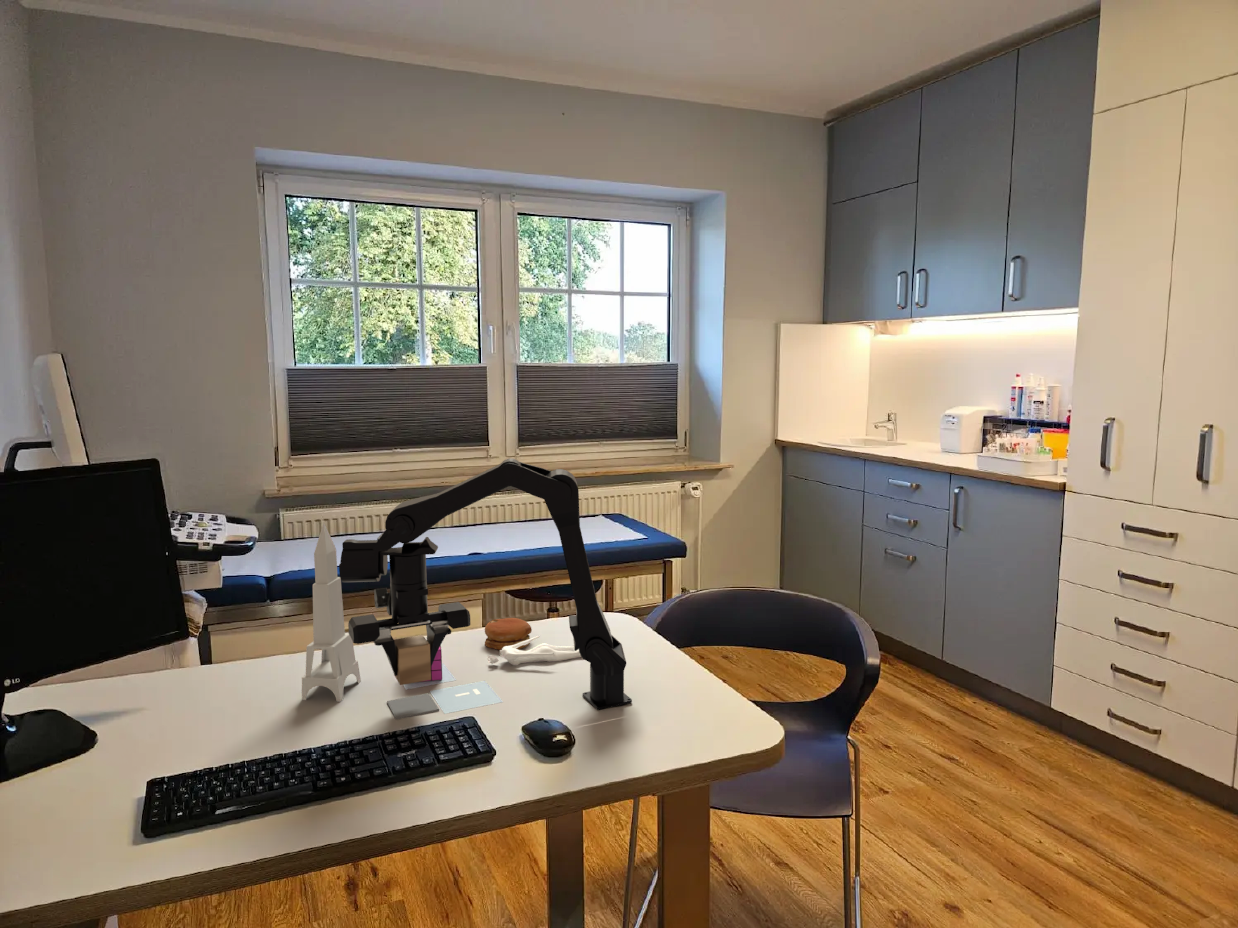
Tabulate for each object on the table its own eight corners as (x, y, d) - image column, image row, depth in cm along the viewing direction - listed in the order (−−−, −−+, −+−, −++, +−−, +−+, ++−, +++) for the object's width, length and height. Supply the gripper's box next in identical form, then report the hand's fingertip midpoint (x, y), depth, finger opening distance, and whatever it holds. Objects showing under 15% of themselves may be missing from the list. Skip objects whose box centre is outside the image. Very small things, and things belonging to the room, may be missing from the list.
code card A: (503, 702, 136) (503, 701, 136) (444, 714, 132) (444, 713, 132) (485, 681, 145) (485, 680, 145) (429, 691, 141) (429, 690, 141)
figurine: (603, 650, 166) (482, 655, 157) (605, 632, 165) (483, 637, 157) (621, 668, 156) (493, 675, 147) (623, 650, 156) (495, 655, 147)
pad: (439, 711, 133) (439, 708, 133) (395, 719, 130) (395, 717, 130) (428, 695, 139) (428, 692, 139) (387, 703, 136) (387, 700, 136)
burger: (524, 653, 159) (524, 630, 158) (478, 651, 160) (477, 628, 159) (536, 636, 169) (535, 614, 168) (492, 634, 170) (492, 613, 169)
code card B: (456, 680, 145) (456, 679, 145) (405, 689, 141) (405, 689, 141) (443, 663, 153) (443, 662, 153) (395, 671, 149) (395, 671, 149)
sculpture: (361, 681, 145) (353, 517, 141) (340, 701, 137) (332, 527, 133) (324, 680, 145) (315, 516, 141) (301, 699, 137) (292, 526, 133)
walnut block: (431, 679, 133) (429, 644, 132) (400, 685, 130) (398, 649, 130) (423, 668, 137) (422, 634, 136) (393, 674, 135) (392, 639, 134)
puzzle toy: (409, 683, 144) (408, 652, 143) (409, 671, 149) (407, 641, 148) (442, 679, 145) (441, 649, 145) (440, 668, 151) (439, 638, 150)
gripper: (451, 562, 143) (454, 647, 145) (341, 575, 134) (345, 665, 137) (470, 577, 133) (472, 668, 135) (351, 592, 125) (356, 689, 127)
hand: (412, 671), depth 134 cm, fingers closed on walnut block, 5 cm apart
